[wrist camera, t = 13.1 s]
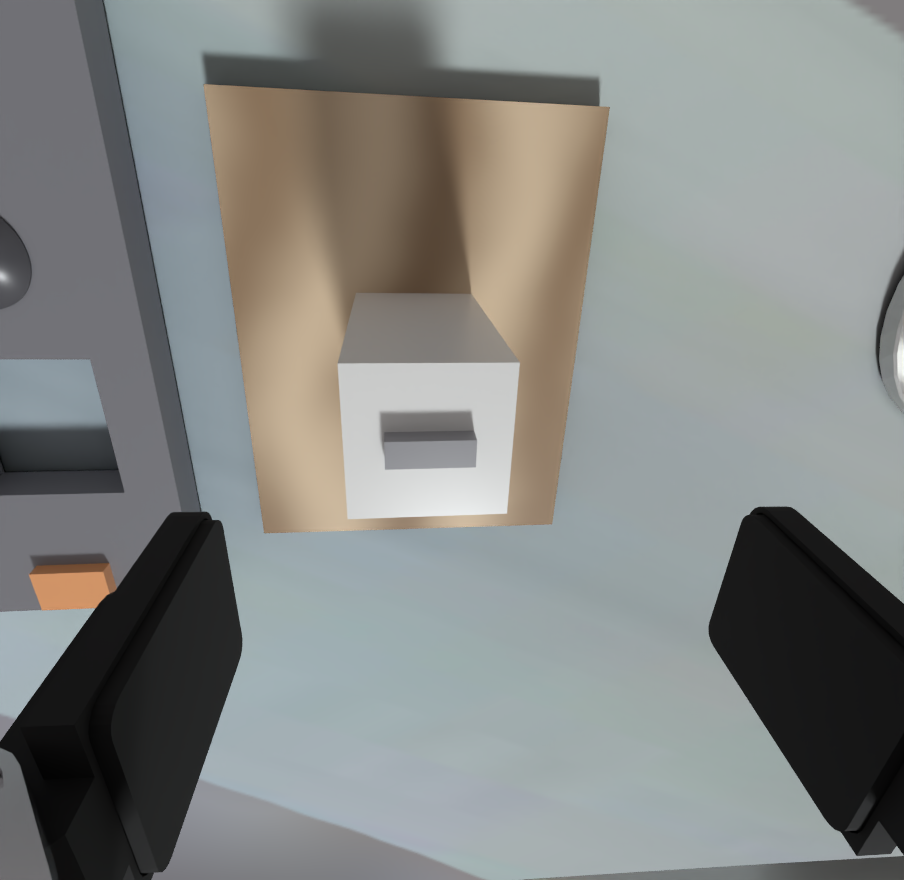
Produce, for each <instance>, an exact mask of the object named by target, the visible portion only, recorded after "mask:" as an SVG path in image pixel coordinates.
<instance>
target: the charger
mask: <svg viewBox="0 0 904 880" xmlns="http://www.w3.org/2000/svg"><path fill="white" fill-rule="evenodd" d="M519 367H520V362H519V361H518V359H517V358H516V356H515V355H514V353H513V352H512V351H511V349H510V348H509V346H508V345H507V344H506V342H505V341H504V339H503V338H502V336H501V335H500V334H499V332H498V331H497V329H496V328H495V326H494V325H493V324H492V322H491V321H490V319H489V318H488V316H487V315H486V314H485V312H484V311H483V309H482V308H481V307H480V305H479V304H478V302H477V301H476V299H475V298H474V297H473V295H472V294H439V293H356V295H355V298H354V302H353V306H352V310H351V314H350V318H349V321H348V325H347V329H346V333H345V337H344V341H343V344H342V348H341V352H340V356H339V360H338V379H339V394H340V410H341V425H342V441H343V456H344V472H345V487H346V503H347V518H348V519H370V518H398V517H426V516H454V515H483V514H507V507H508V495H509V484H510V472H511V460H512V449H513V437H514V425H515V414H516V402H517V390H518V379H519Z"/></svg>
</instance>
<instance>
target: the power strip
mask: <svg viewBox="0 0 904 880" xmlns="http://www.w3.org/2000/svg"><path fill="white" fill-rule="evenodd" d="M0 359H90V360H91V364H92V368H93V372H94V376H95V380H96V384H97V387H98V391H99V395H100V399H101V403H102V407H103V411H104V414H105V418H106V422H107V426H108V430H109V434H110V438H111V442H112V445H113V449H114V453H115V457H116V461H117V465H118V469H119V470H103V471H48V472H4V470H3V467H2V464H1V461H0V612H5V611H27V610H61V609H83V608H96V607H97V606H98V604H99V603H100V602H101V601H102V600H103V599H104V598H105V596H106V595H108V594H110V593H112V592H115V590H116V589H117V587H118V586H119V584H120V583H121V582H122V580H123V579H124V577H125V576H126V574H127V573H128V572H129V570H130V569H131V567H132V566H133V564H134V563H135V562H136V560H137V559H138V557H139V556H140V555H141V553H142V552H143V550H144V549H145V547H146V546H147V545H148V543H149V542H150V540H151V539H152V537H153V536H154V535H155V533H156V532H157V530H158V529H159V527H160V526H161V525H162V523H163V522H164V520H165V519H166V517H167V516H168V515H169V514H170V513H172V512H201V511H200V506H199V501H198V496H197V491H196V485H195V480H194V475H193V470H192V465H191V459H190V454H189V449H188V444H187V439H186V433H185V428H184V423H183V418H182V413H181V407H180V402H179V397H178V392H177V387H176V381H175V376H174V371H173V366H172V361H171V355H170V350H169V345H168V340H167V335H166V329H165V324H164V319H163V314H162V308H161V303H160V298H159V293H158V288H157V282H156V277H155V272H154V267H153V262H152V256H151V251H150V246H149V241H148V236H147V230H146V225H145V220H144V215H143V210H142V204H141V199H140V194H139V189H138V184H137V178H136V173H135V168H134V163H133V158H132V152H131V147H130V142H129V137H128V132H127V126H126V121H125V116H124V111H123V106H122V100H121V95H120V90H119V85H118V80H117V74H116V69H115V64H114V59H113V54H112V48H111V43H110V38H109V33H108V28H107V22H106V17H105V12H104V7H103V1H102V0H0Z"/></svg>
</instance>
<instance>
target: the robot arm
mask: <svg viewBox="0 0 904 880" xmlns="http://www.w3.org/2000/svg"><path fill="white" fill-rule="evenodd" d="M879 362H880V369H881V375H882V381H883V383H884V386H885V388H886V390H887V392H888V395H889V397H890V399H891V400H892V401H893V402H894V403H895V405H896V406H897V407H898V408H899V409H900V411H901V412H903V413H904V276H903V277H902V279H901V281H900V282H899V284H898V286H897V289H896V291H895V293H894V296H893V298H892V300H891V303H890V305H889V307H888V310H887V313H886V317H885V321H884V325H883V329H882V333H881V338H880V354H879ZM709 637H710V640H711V642H712V644H713V646H714V648H715V649H716V651H717V652H718V654H719V655H720V657H721V659H722V660H723V662H724V663H725V665H726V666H727V668H728V669H729V671H730V672H731V674H732V676H733V677H734V679H735V680H736V682H737V683H738V685H739V686H740V688H741V690H742V691H743V693H744V694H745V696H746V697H747V699H748V700H749V702H750V703H751V705H752V707H753V708H754V710H755V711H756V713H757V714H758V716H759V717H760V719H761V721H762V722H763V724H764V725H765V727H766V728H767V730H768V731H769V733H770V734H771V736H772V738H773V739H774V741H775V742H776V744H777V745H778V747H779V748H780V750H781V752H782V753H783V755H784V756H785V758H786V759H787V761H788V762H789V764H790V765H791V767H792V769H793V770H794V772H795V773H796V775H797V776H798V778H799V779H800V781H801V782H802V784H803V786H804V787H805V789H806V790H807V792H808V793H809V795H810V796H811V798H812V800H813V801H814V803H815V804H816V806H817V807H818V809H819V810H820V812H821V813H822V815H823V817H824V818H825V819H826V821H827V822H828V823H829V825H830V826H832V827H833V828H834V829H835V830H838V831H841V833H842V834H843V836H844V837H845V839H846V840H847V842H848V843H849V845H850V847H851V848H852V850H853V851H854V853H855V854H856V856H863V855H879V854H891V853H892V851H893V850H894V849H895V847H896V846H898V848H899V849H900V851H901V852H902V853H903V855H904V604H903V603H902V602H901V601H900V600H899V599H898V598H896V597H895V596H894V595H893V594H892V593H891V592H889V591H888V590H887V589H886V588H885V587H884V586H883V585H881V584H880V583H879V582H878V581H877V580H876V579H875V578H873V577H872V576H871V575H870V574H869V573H868V572H866V571H865V570H864V569H863V568H862V567H861V566H860V565H858V564H857V563H856V562H855V561H854V560H853V559H852V558H850V557H849V556H848V555H847V554H846V553H845V552H843V551H842V550H841V549H840V548H839V547H838V546H837V545H835V544H834V543H833V542H832V541H831V540H830V539H829V538H827V537H826V536H825V535H824V534H823V533H822V532H820V531H819V530H818V529H817V528H816V527H815V526H814V525H812V524H811V523H810V522H809V521H808V520H807V519H806V518H804V517H803V516H802V515H801V514H800V513H799V512H797V511H796V510H795V509H793V508H791V507H757V508H755V509H754V510H753V511H752V512H751V513H750V515H747V516H745V517H744V518H743V520H742V522H741V525H740V528H739V532H738V535H737V538H736V541H735V544H734V547H733V550H732V554H731V557H730V560H729V563H728V566H727V569H726V572H725V575H724V579H723V582H722V585H721V588H720V591H719V594H718V597H717V601H716V604H715V607H714V610H713V613H712V616H711V619H710V622H709ZM241 652H242V633H241V627H240V622H239V616H238V610H237V604H236V599H235V593H234V587H233V581H232V576H231V570H230V564H229V559H228V553H227V547H226V541H225V536H224V530H223V526H222V523H221V521H219V520H212V518H211V516H210V514H209V513H208V512H172V513H170V514H169V515H168V516H167V517H166V519H165V520H164V522H163V523H162V525H161V526H160V527H159V529H158V530H157V532H156V533H155V535H154V536H153V537H152V539H151V540H150V542H149V543H148V545H147V546H146V547H145V549H144V550H143V552H142V553H141V555H140V556H139V557H138V559H137V560H136V562H135V563H134V564H133V566H132V567H131V569H130V570H129V572H128V573H127V574H126V576H125V577H124V579H123V580H122V582H121V583H120V584H119V586H118V587H117V589H116V590H115V592H112V593H110V594H108V595H106V596H105V598H104V599H103V600H102V601H101V602H100V603H99V604H98V606H97V607H96V609H95V610H94V611H93V613H92V614H91V616H90V617H89V618H88V620H87V621H86V623H85V624H84V625H83V627H82V628H81V630H80V631H79V632H78V634H77V635H76V637H75V638H74V639H73V641H72V642H71V643H70V645H69V646H68V648H67V649H66V650H65V652H64V653H63V655H62V656H61V657H60V659H59V660H58V662H57V663H56V664H55V666H54V667H53V669H52V670H51V671H50V673H49V674H48V676H47V677H46V678H45V680H44V681H43V683H42V684H41V685H40V687H39V688H38V690H37V691H36V692H35V694H34V695H33V696H32V698H31V699H30V701H29V702H28V703H27V705H26V706H25V708H24V709H23V710H22V712H21V713H20V715H19V716H18V717H17V719H16V720H15V722H14V723H13V725H12V726H11V727H10V729H9V730H8V731H7V733H6V734H5V736H4V737H3V739H2V740H1V741H0V880H151V879H152V876H153V874H154V872H163V871H164V870H165V869H166V867H167V866H168V864H169V861H170V859H171V857H172V854H173V851H174V848H175V845H176V842H177V839H178V837H179V834H180V831H181V828H182V825H183V822H184V819H185V816H186V814H187V811H188V808H189V805H190V802H191V799H192V796H193V793H194V790H195V787H196V784H197V782H198V779H199V776H200V773H201V770H202V767H203V764H204V762H205V759H206V756H207V753H208V750H209V747H210V744H211V741H212V738H213V735H214V733H215V730H216V727H217V724H218V721H219V718H220V715H221V712H222V709H223V707H224V704H225V701H226V698H227V695H228V692H229V689H230V686H231V683H232V680H233V678H234V675H235V672H236V669H237V666H238V663H239V660H240V657H241ZM525 880H904V856H898V857H881V858H864V859H847V860H830V861H812V862H795V863H778V864H761V865H744V866H728V867H712V868H696V869H680V870H664V871H649V872H633V873H617V874H602V875H586V876H571V877H556V878H540V879H525Z"/></svg>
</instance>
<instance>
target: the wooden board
mask: <svg viewBox="0 0 904 880" xmlns="http://www.w3.org/2000/svg"><path fill="white" fill-rule="evenodd" d="M204 91H205V99H206V106H207V114H208V121H209V128H210V136H211V143H212V151H213V158H214V165H215V173H216V180H217V187H218V195H219V202H220V210H221V217H222V224H223V232H224V239H225V247H226V254H227V261H228V269H229V276H230V284H231V291H232V298H233V306H234V313H235V321H236V328H237V335H238V343H239V350H240V358H241V365H242V372H243V380H244V387H245V394H246V402H247V409H248V417H249V424H250V431H251V439H252V446H253V454H254V461H255V468H256V476H257V483H258V491H259V498H260V505H261V513H262V520H263V528H264V533H288V532H320V531H352V530H384V529H416V528H448V527H480V526H512V525H544V524H552V521H553V513H554V506H555V499H556V492H557V485H558V477H559V470H560V463H561V456H562V448H563V441H564V434H565V427H566V419H567V412H568V405H569V398H570V391H571V383H572V376H573V369H574V362H575V354H576V347H577V340H578V333H579V326H580V318H581V311H582V304H583V297H584V289H585V282H586V275H587V268H588V260H589V253H590V246H591V239H592V232H593V224H594V217H595V210H596V203H597V195H598V188H599V181H600V174H601V166H602V159H603V152H604V145H605V138H606V130H607V123H608V116H609V109H610V107H600V106H582V105H564V104H546V103H529V102H511V101H493V100H475V99H458V98H440V97H422V96H404V95H387V94H369V93H351V92H333V91H316V90H298V89H280V88H262V87H245V86H227V85H209V84H204ZM356 293H439V294H472V295H473V297H474V298H475V299H476V301H477V302H478V304H479V305H480V307H481V308H482V309H483V311H484V312H485V314H486V315H487V316H488V318H489V319H490V321H491V322H492V324H493V325H494V326H495V328H496V329H497V331H498V332H499V334H500V335H501V336H502V338H503V339H504V341H505V342H506V344H507V345H508V346H509V348H510V349H511V351H512V352H513V353H514V355H515V356H516V358H517V359H518V361H519V362H520V367H519V379H518V390H517V402H516V414H515V425H514V437H513V449H512V460H511V472H510V484H509V495H508V507H507V514H483V515H454V516H426V517H398V518H370V519H348V518H347V503H346V487H345V472H344V456H343V441H342V425H341V410H340V394H339V379H338V360H339V356H340V352H341V348H342V344H343V341H344V337H345V333H346V329H347V325H348V321H349V318H350V314H351V310H352V306H353V302H354V298H355V295H356Z"/></svg>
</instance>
